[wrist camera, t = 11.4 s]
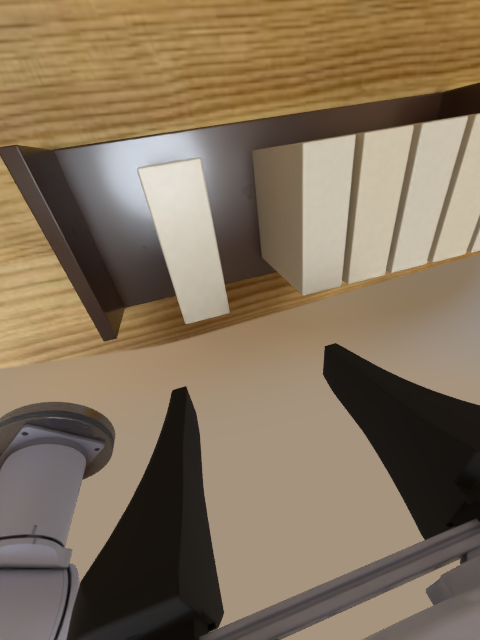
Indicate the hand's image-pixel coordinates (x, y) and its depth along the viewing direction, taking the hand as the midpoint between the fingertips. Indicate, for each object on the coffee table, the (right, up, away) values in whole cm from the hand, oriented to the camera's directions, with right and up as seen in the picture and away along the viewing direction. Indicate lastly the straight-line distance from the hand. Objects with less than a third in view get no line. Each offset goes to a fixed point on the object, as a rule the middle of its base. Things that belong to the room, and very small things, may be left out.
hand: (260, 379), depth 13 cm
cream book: (-5, +9, +4) cm, 12 cm away
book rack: (+1, +12, +6) cm, 13 cm away
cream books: (+7, +12, +6) cm, 15 cm away
